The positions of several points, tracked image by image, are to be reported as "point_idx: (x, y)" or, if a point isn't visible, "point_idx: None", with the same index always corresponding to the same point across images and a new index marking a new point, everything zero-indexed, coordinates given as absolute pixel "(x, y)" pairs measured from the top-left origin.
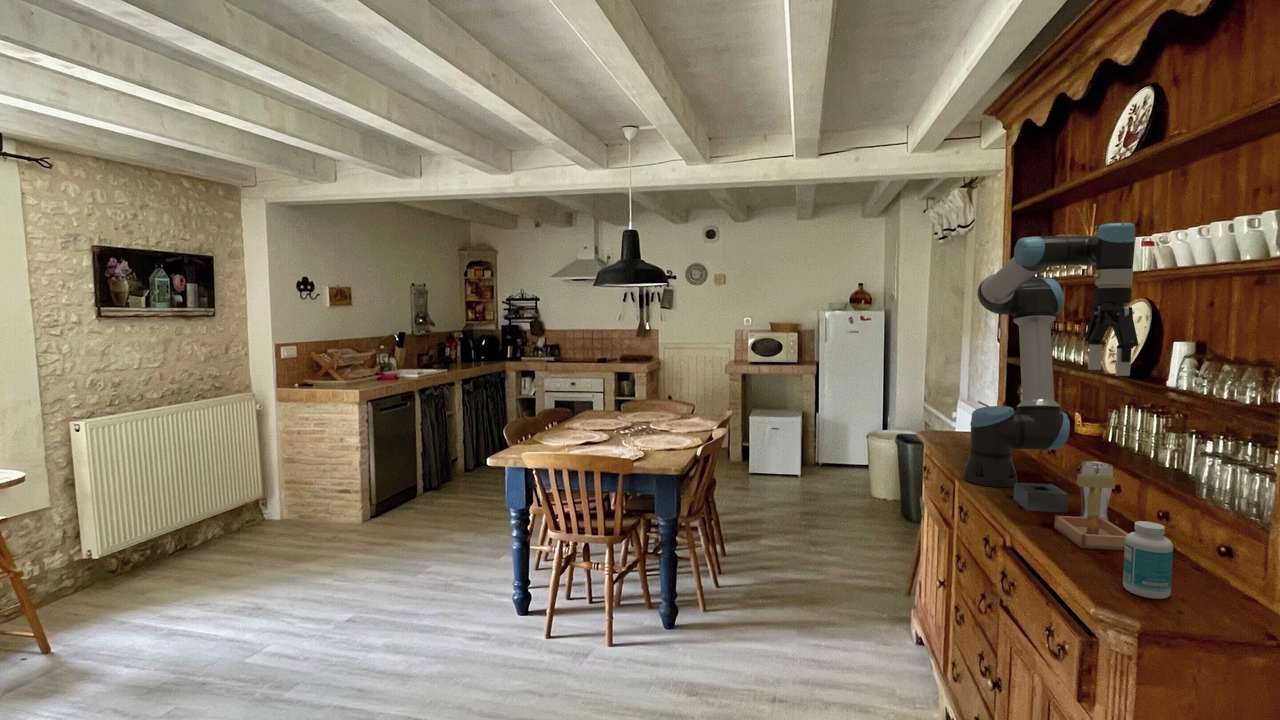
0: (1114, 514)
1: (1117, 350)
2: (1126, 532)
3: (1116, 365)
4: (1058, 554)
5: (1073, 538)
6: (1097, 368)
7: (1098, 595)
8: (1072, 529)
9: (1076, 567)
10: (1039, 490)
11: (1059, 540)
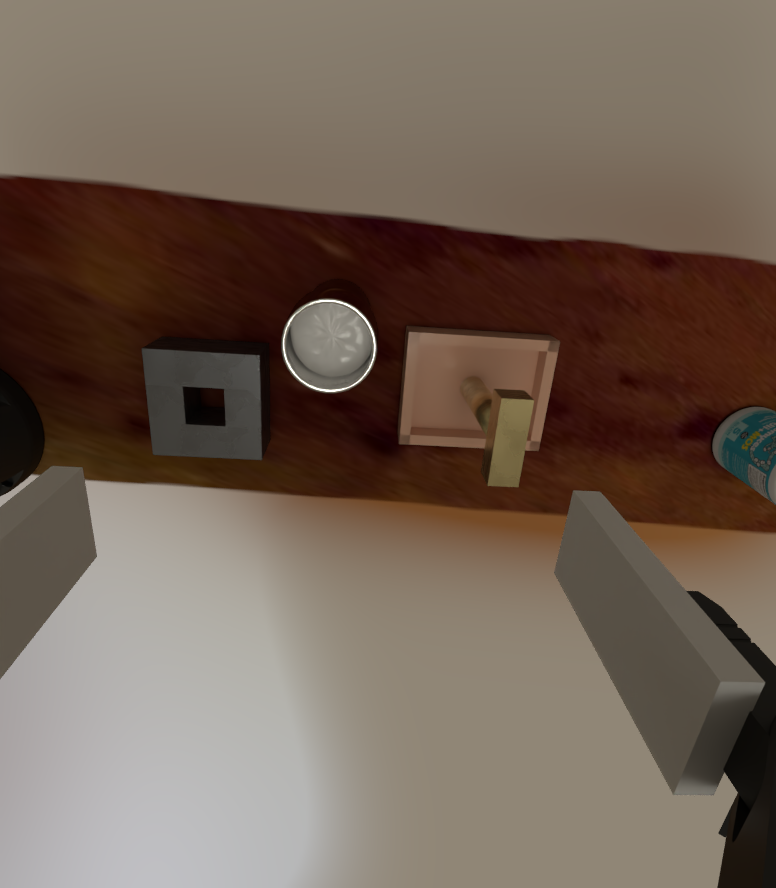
0: (261, 212)
1: (669, 769)
2: (520, 338)
3: (590, 631)
4: (563, 497)
5: None
6: (82, 504)
7: (741, 517)
8: None
9: (627, 496)
10: (230, 419)
11: None
